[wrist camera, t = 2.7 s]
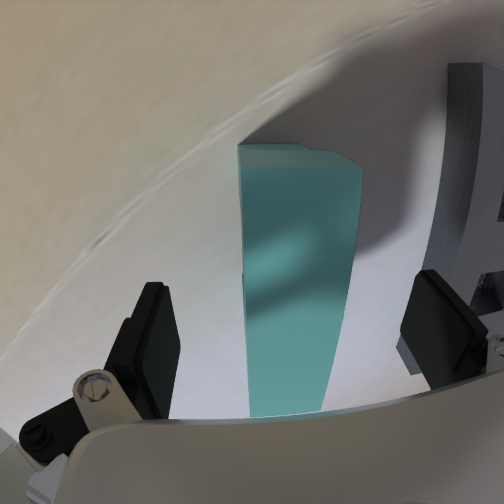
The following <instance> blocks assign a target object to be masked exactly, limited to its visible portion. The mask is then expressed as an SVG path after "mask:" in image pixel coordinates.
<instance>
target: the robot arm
mask: <svg viewBox="0 0 504 504" xmlns="http://www.w3.org/2000/svg"><path fill="white" fill-rule="evenodd" d="M488 332H489V330H488V329H487V328H486V326H485V325H484V324H483V323H482V322H481V320H480V319H479V318H478V317H477V316H476V315H475V313H474V312H473V311H472V310H471V309H470V308H469V306H468V305H467V304H466V303H465V302H464V301H463V300H462V298H461V297H460V296H459V295H458V294H457V293H456V292H455V291H454V290H453V289H452V287H451V286H450V285H449V284H448V283H447V282H446V281H445V280H444V279H443V278H442V277H441V276H440V275H439V274H438V273H437V272H436V270H434V269H428V270H421V271H420V272H419V274H417V275H416V277H415V280H414V284H413V287H412V291H411V294H410V298H409V301H408V305H407V308H406V311H405V314H404V317H403V321H402V324H401V327H400V333H401V336H402V338H403V339H404V341H405V343H406V345H407V346H408V348H409V350H410V352H411V353H412V355H413V357H414V359H415V360H416V362H417V364H418V366H419V368H420V370H421V371H422V373H423V375H424V377H425V379H426V381H427V383H428V384H429V386H430V388H431V390H430V391H426V392H423V393H419V394H415V395H411V396H407V397H402V398H398V399H394V400H389V401H384V402H380V403H375V404H369V405H364V406H359V407H353V408H347V409H340V410H334V411H326V412H319V413H310V414H302V415H292V416H280V417H266V418H246V419H168V417H169V411H170V405H171V399H172V393H173V388H174V382H175V376H176V371H177V365H178V360H179V355H180V339H179V335H178V330H177V325H176V321H175V316H174V311H173V306H172V301H171V296H170V291H169V287H168V286H164V284H163V282H147V283H146V284H145V286H144V288H143V291H142V293H141V295H140V297H139V300H138V302H137V304H136V307H135V309H134V311H133V313H132V316H131V318H126V319H125V320H124V321H123V324H122V326H121V328H120V330H119V333H118V335H117V337H116V340H115V342H114V344H113V347H112V349H111V352H110V354H109V357H108V359H107V361H106V364H105V366H104V369H103V370H101V369H96V370H91V371H88V372H85V373H84V374H82V375H81V376H80V377H79V378H78V379H77V380H76V381H75V383H74V385H73V396H74V397H72V398H70V399H68V400H66V401H65V402H63V403H61V404H59V405H57V406H55V407H53V408H51V409H50V410H48V411H46V412H44V413H42V414H40V415H38V416H36V417H34V418H32V419H30V420H29V421H27V422H26V423H25V424H24V425H23V427H22V428H21V431H20V434H19V441H20V442H19V443H18V444H17V445H15V444H14V443H12V444H11V445H10V446H9V447H8V448H7V449H6V450H5V451H4V452H3V453H2V454H1V455H0V504H51V501H52V498H53V497H54V496H55V494H56V496H55V499H54V503H53V504H504V335H499V334H497V335H493V336H491V337H490V338H489V340H488V339H487V338H486V336H487V334H488Z"/></svg>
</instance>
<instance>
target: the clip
mask: <svg viewBox="0 0 504 504" xmlns="http://www.w3.org/2000/svg"><path fill="white" fill-rule="evenodd" d="M238 174H239V195H240V210H241V225H242V253H243V274H242V283H243V305H244V323H245V339H246V356H247V373H248V389H249V404H250V417H263V416H276V415H287V414H297V413H306V412H314V411H320V410H321V407H322V403H323V399H324V396H325V392H326V388H327V385H328V381H329V377H330V373H331V369H332V365H333V361H334V356H335V352H336V348H337V343H338V339H339V334H340V330H341V325H342V320H343V315H344V310H345V305H346V300H347V294H348V289H349V283H350V278H351V272H352V265H353V259H354V253H355V246H356V239H357V231H358V224H359V215H360V207H361V198H362V188H363V177H364V168H363V167H361V166H359V165H358V164H356V163H354V162H352V161H351V160H349V159H347V158H346V157H344V156H342V155H340V154H338V153H337V152H335V151H319V150H309V149H308V148H306V147H305V146H303V145H302V144H243V145H238Z"/></svg>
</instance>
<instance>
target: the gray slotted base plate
mask: <svg viewBox="0 0 504 504" xmlns="http://www.w3.org/2000/svg"><path fill="white" fill-rule="evenodd" d="M503 191H504V73H503V72H501V71H499V70H497V69H495V68H493V67H491V66H489V65H486V64H484V63H448V106H447V124H446V136H445V147H444V156H443V164H442V172H441V179H440V185H439V192H438V198H437V203H436V209H435V214H434V219H433V224H432V228H431V233H430V238H429V242H428V246H427V250H426V254H425V258H424V262H423V266H422V270H428V269H434V270H436V272H437V273H438V274H439V275H440V276H441V277H442V278H443V279H444V280H445V281H446V282H447V283H448V284H449V285H450V286H451V287H452V289H453V290H454V291H455V292H456V293H457V294H458V295H459V296H460V297H461V298H462V300H463V301H464V302H465V303H466V304H467V305H468V306H469V308H470V309H471V310H472V311H473V312H474V313H475V315H476V316H477V317H478V318H479V319H480V320H481V322H482V323H483V324H484V325H485V326H486V328H487V329H488V330H489V332H488V334H487V336H486V338H487V339H488V340H489V338H490V337H491V336H493V335H497V334H499V335H504V205H501V201H502V196H503ZM482 273H488V274H487V276H486V279H485V282H484V285H483V287H482V288H481V289H476V287H477V284H478V281H479V278H480V276H481V274H482ZM396 348H397V350H398V352H399V354H400V356H401V358H402V360H403V362H404V363H405V365H406V367H407V369H408V371H409V373H410V375H415V374H419V373H422V371H421V370H420V368H419V366H418V364H417V362H416V360H415V359H414V357H413V355H412V353H411V352H410V350H409V348H408V346H407V345H406V343H405V341H404V339H403V338H402V336H401V335H400V338H399V341H398V344H397V346H396Z"/></svg>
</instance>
